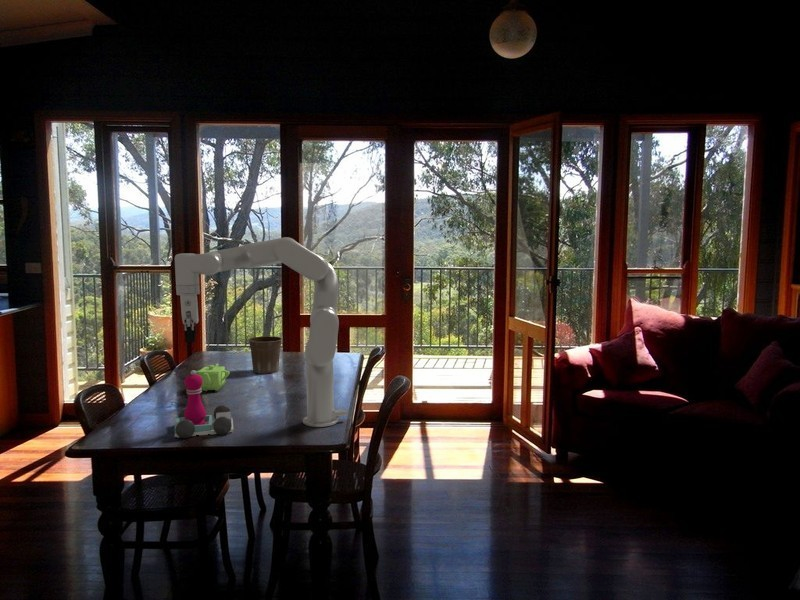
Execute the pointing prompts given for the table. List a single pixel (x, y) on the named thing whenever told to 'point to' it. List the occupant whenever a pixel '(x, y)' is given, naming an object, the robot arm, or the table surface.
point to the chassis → (217, 426)
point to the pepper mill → (194, 399)
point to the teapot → (213, 377)
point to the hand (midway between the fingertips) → (190, 339)
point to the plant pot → (265, 353)
